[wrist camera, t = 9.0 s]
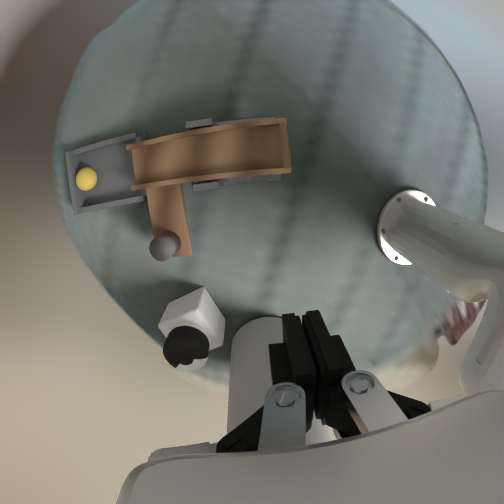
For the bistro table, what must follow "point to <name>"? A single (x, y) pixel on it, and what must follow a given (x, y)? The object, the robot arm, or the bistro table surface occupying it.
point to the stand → (227, 181)
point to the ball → (86, 178)
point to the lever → (202, 170)
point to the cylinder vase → (258, 374)
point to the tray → (105, 174)
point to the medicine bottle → (191, 330)
